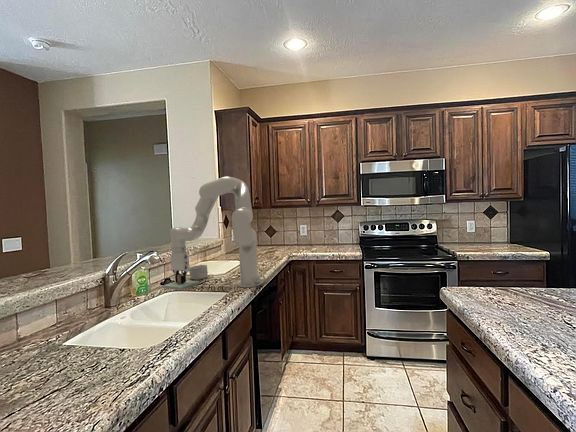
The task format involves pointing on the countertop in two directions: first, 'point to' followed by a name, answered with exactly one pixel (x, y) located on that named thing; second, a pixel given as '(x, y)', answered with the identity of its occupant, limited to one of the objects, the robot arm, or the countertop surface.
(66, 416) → the countertop surface
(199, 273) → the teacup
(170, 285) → the lid
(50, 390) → the countertop surface
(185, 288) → the mat
